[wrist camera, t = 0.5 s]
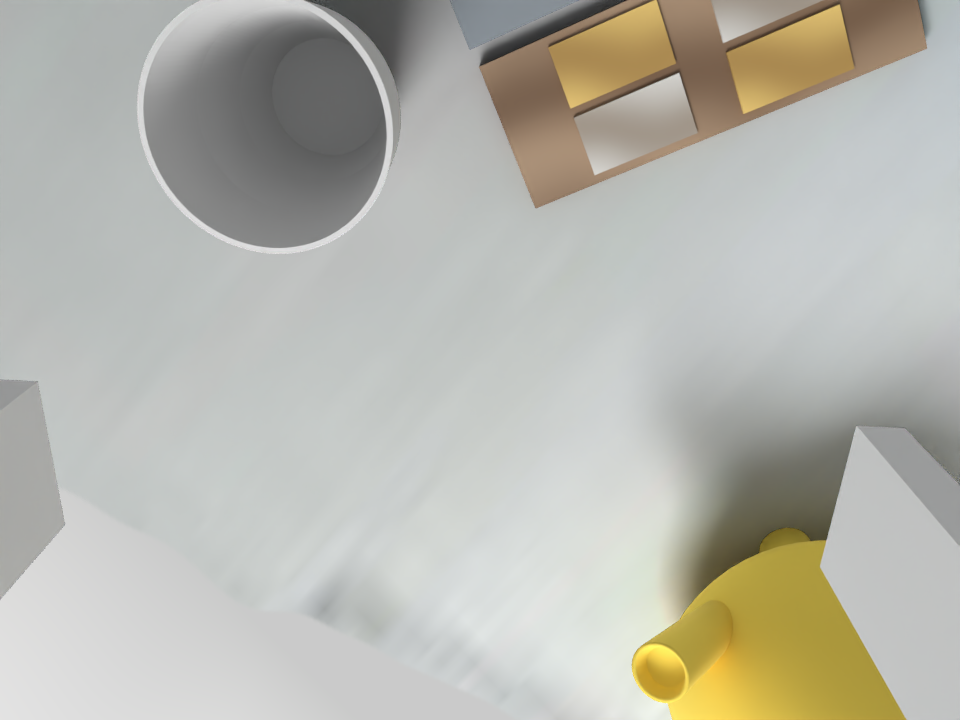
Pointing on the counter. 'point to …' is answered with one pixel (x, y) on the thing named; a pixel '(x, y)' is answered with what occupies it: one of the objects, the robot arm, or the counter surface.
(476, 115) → the counter surface
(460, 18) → the button board
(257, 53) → the cup
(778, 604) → the teapot
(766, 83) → the card
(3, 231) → the counter surface
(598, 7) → the counter surface
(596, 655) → the counter surface
